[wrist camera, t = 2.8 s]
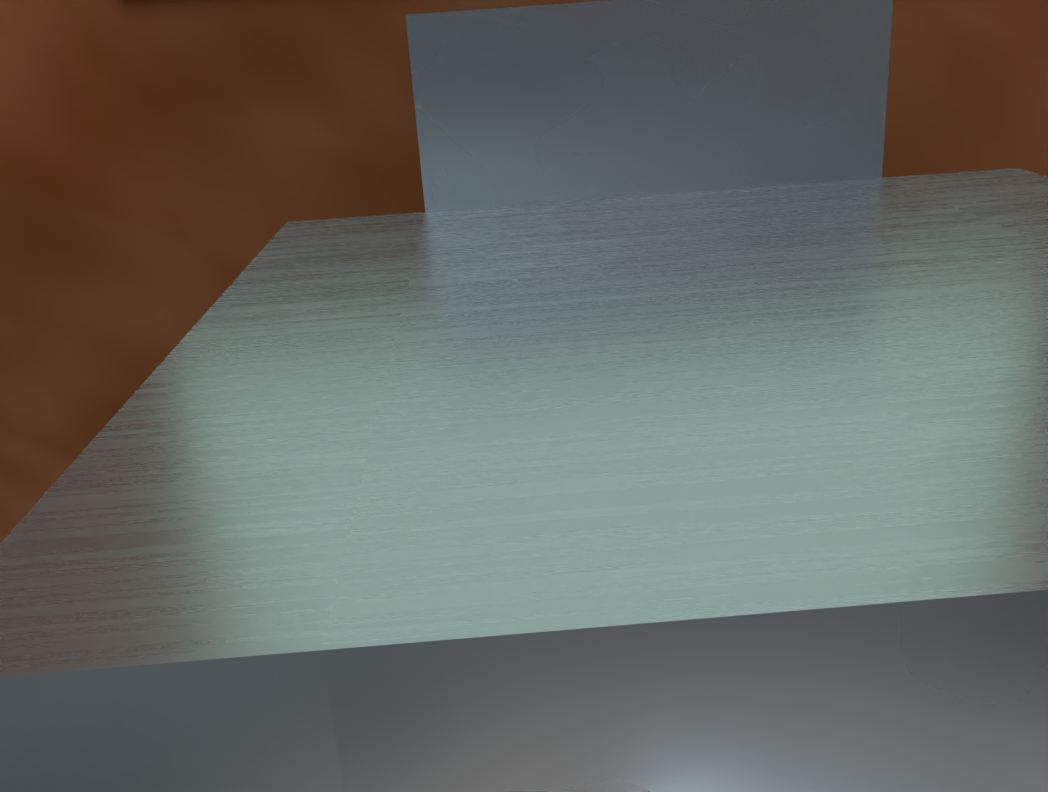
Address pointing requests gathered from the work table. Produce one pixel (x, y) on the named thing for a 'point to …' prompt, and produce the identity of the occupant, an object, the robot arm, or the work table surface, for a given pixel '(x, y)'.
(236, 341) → the collar
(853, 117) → the grey block
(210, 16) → the work table surface
